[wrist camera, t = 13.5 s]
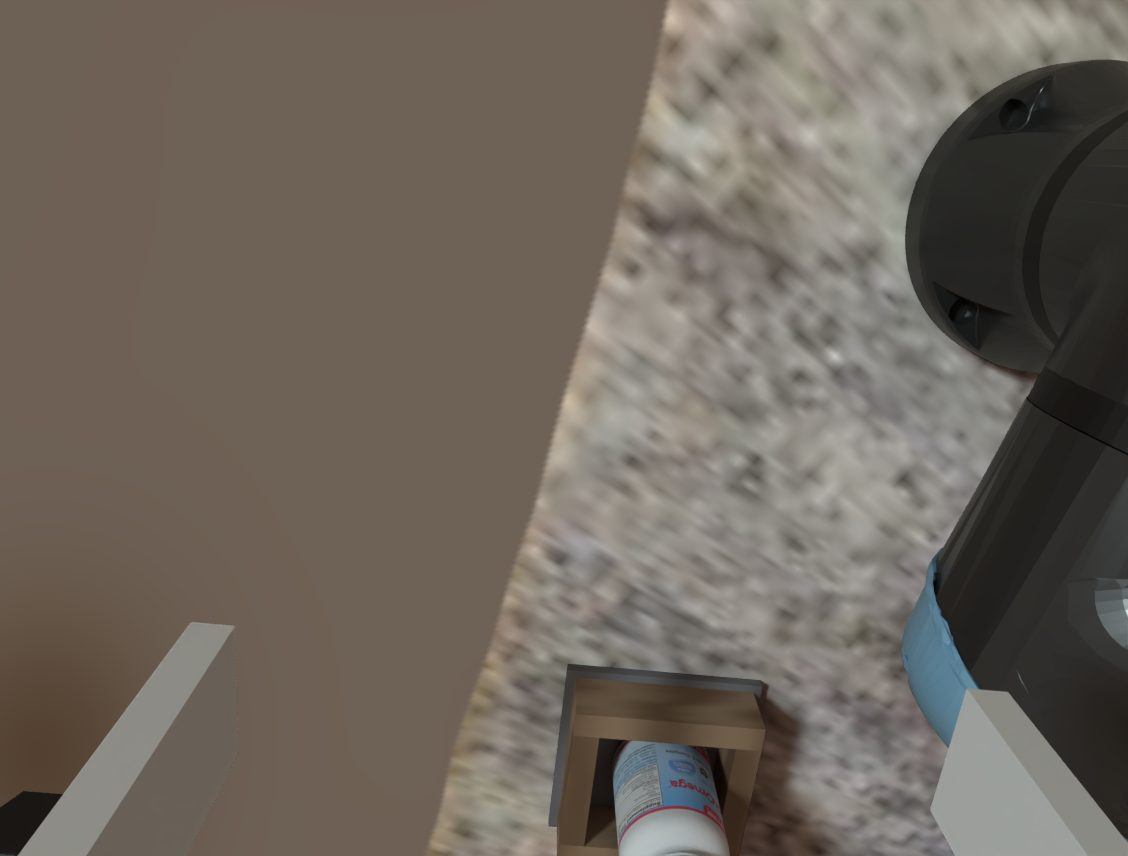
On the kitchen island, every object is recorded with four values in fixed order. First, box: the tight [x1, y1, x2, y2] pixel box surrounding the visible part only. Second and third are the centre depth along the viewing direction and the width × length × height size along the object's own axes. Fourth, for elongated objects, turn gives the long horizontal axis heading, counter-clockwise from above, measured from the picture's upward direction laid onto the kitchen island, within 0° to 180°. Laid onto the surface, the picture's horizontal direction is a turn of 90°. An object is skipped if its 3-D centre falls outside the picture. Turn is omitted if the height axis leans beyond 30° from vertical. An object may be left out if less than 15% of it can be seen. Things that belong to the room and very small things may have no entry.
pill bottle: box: [612, 740, 730, 856], centre depth 50 cm, size 6×6×11 cm
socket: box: [549, 664, 766, 856], centre depth 54 cm, size 12×12×4 cm
